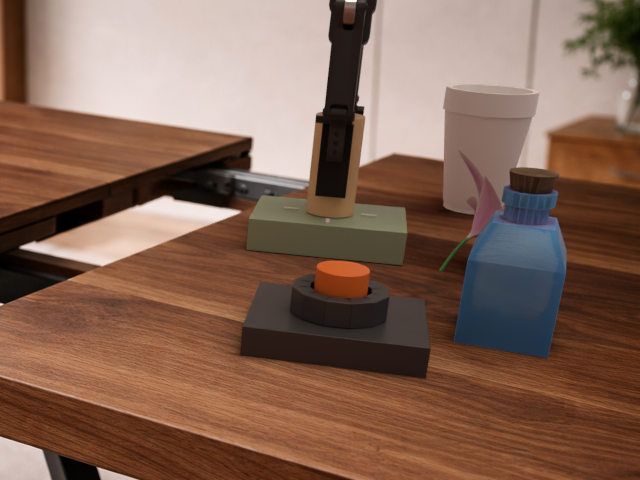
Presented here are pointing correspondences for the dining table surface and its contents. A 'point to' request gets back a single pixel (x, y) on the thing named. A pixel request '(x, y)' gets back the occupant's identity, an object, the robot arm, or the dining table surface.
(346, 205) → the handle
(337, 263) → the button
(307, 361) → the button block
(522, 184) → the perfume bottle
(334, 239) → the panel
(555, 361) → the dining table surface
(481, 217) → the lily
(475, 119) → the foam cup
